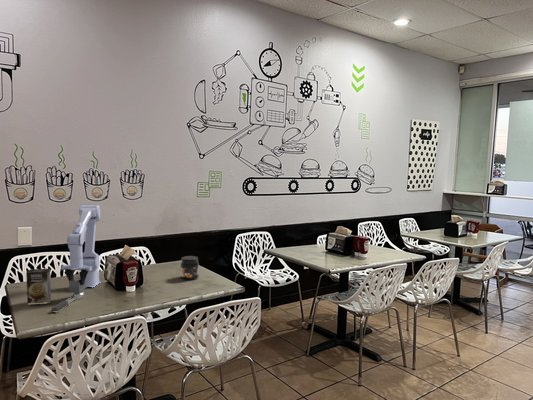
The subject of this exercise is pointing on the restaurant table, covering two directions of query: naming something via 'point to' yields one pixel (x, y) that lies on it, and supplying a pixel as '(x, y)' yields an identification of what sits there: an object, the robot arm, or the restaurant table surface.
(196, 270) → the supplement container
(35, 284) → the cookie box
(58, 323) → the restaurant table surface
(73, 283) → the brushed metal cube
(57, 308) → the ratchet
